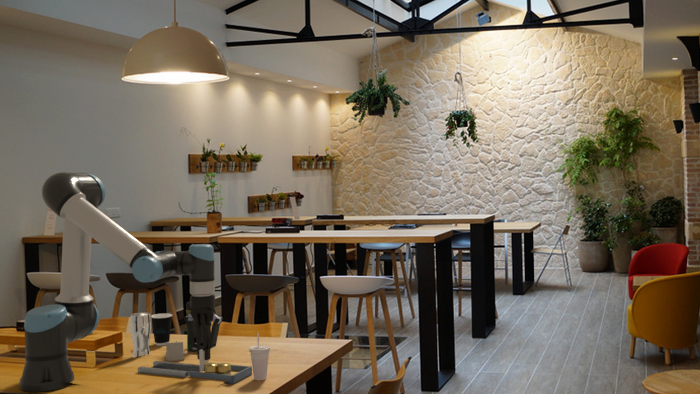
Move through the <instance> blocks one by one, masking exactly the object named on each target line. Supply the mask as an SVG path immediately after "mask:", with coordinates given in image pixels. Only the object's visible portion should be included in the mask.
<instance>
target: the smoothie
mask: <svg viewBox="0 0 700 394" xmlns="http://www.w3.org/2000/svg"><path fill="white" fill-rule="evenodd" d="M256 337H257V338H256V339H257V341H256V343H257V345H252V346H250V347H249V348H248V349H249V353H250V360H251V367H252V375H253V380H254V381H256V380H257V381H258V380H262V381H265V379H266V380H267V378H268V365H269V358H270V357H269V355H270V351H271V347H270V346H269V345H264V344H261V345H260V333H259V332H257V333H256Z"/></svg>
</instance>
